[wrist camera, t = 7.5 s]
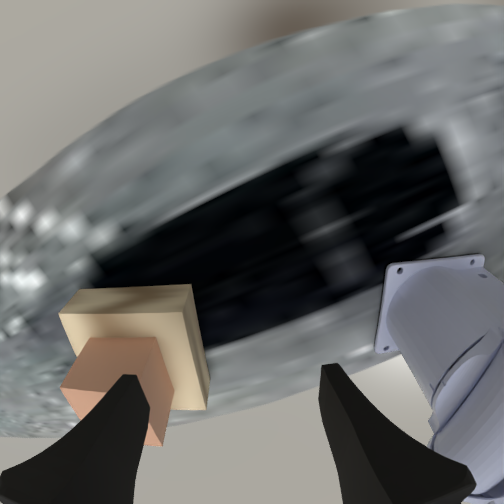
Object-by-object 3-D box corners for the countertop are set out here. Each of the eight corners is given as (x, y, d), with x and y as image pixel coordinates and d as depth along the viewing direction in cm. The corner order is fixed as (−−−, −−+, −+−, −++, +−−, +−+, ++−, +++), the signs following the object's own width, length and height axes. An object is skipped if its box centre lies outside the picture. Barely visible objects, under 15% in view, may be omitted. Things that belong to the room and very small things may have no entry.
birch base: (191, 283, 21) (182, 312, 18) (210, 378, 25) (206, 409, 21) (79, 289, 21) (58, 313, 18) (112, 376, 25) (100, 404, 22)
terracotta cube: (156, 337, 19) (135, 394, 14) (174, 391, 21) (162, 446, 16) (89, 337, 19) (59, 387, 14) (113, 388, 21) (93, 438, 16)
